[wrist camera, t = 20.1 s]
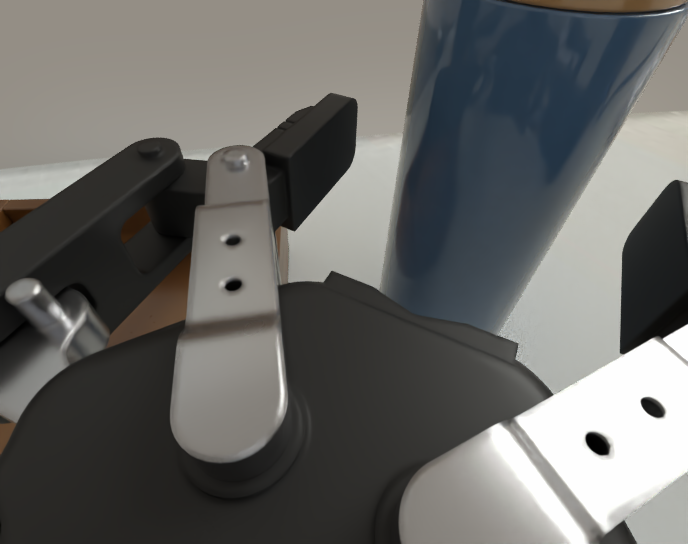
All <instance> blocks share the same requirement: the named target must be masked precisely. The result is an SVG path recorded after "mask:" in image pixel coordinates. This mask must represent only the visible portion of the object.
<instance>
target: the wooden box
mask: <svg viewBox="0 0 688 544" xmlns="http://www.w3.org/2000/svg"><path fill="white" fill-rule="evenodd" d="M48 200H49V199H28V200H0V232H1V231H3V230H4V229H6V228H7V227H9V226H10V225H12V224H13V223H15V222H16V221H18V220H19V219H21V218H22V217H24V216H25V215H27V214H28V213H30V212H31V211H33V210H34V209H36V208H37V207H39V206H40V205H42V204H43V203H45V202H46V201H48ZM150 221H151V220H150V217H149V215H148V213H147V211H146V209H145V206H144V207H142V208H141V209H140V210H139V211H138V212H136V213H135V214H134V215H133V216H132V217H130V218H129V219H128V220H127V221H126V222H125V223H124V225H123V227H122V229H121V240H122V242H123V244H125V243H126V242H127V241H128V240H129V239H130V238H132V237H133V236H134V235H135V234H136V233H137V232H138V231H140V230H141V229H142V228H143V227H144V226H145V225H147V224H148V223H149V222H150ZM275 234H276V241H277V250H278V259H279V267H280V276H281V285H282V284H286V283H288V264H289V243H288V234H287V228H284V227H282V226H280V227H279V228H278V229H277V230H276V231H275ZM191 255H192V251H191V252H190V253H189V254H188V255H187V256H186V257H185V258H184V259H183V260H182V261H181V262H180V263H179V264H178V265H177V266H176V267H175V268H174V269H173V270H172V271H171V272H170V273H169V274H168V275H167V276H166V278H165V279H164V280H163V281H162V282H161V283H160V284H159V285H158V286H157V287H156V288H155V289H154V290H153V291H152V292H151V293H150V294H149V295H148V296H147V297H146V298H145V299H144V300H143V301H142V302H141V303H140V305H139V306H138V307H137V308H136V309H135V310H134V311H133V312H132V313H131V314H130V315H129V316H128V317H127V318H126V319H125V320H124V321H123V322H122V323H121V324H120V325H119V326H118V327H117V328H116V329H115V330H114V332H113V333H112V334H111V335H110V339H109V342H108V345H107V347H106V348H109V347H111V346H114V345H117V344H119V343H122V342H125V341H128V340H130V339H133V338H136V337H138V336H141V335H144V334H147V333H149V332H152V331H155V330H158V329H160V328H163V327H166V326H168V325H171V324H174V323H177V322H179V321H182V320H185V319H186V313H187V301H188V290H189V278H190V267H191ZM15 426H16V424H14V423H5V424H0V455H1V453H2V452H3V450H4V448H5V446H6V444H7V442H8V440H9V438H10V436H11V434H12V432H13V430H14V428H15Z"/></svg>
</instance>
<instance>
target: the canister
mask: <svg viewBox="0 0 688 544" xmlns="http://www.w3.org/2000/svg"><path fill="white" fill-rule="evenodd" d="M687 18H688V0H423V5H422V12H421V18H420V26H419V32H418V38H417V45H416V52H415V58H414V65H413V72H412V78H411V84H410V92H409V98H408V104H407V111H406V118H405V124H404V131H403V137H402V144H401V151H400V157H399V164H398V171H397V177H396V184H395V190H394V197H393V204H392V210H391V217H390V224H389V230H388V237H387V243H386V250H385V257H384V263H383V270H382V277H381V283H380V290H379V291H380V292H381V293H383V294H384V295H386V296H387V297H389V298H390V299H392V300H393V301H395V302H396V303H398V304H399V305H401V306H402V307H404V308H405V309H407V310H408V311H410V312H411V313H413V314H416V315H420V316H425V317H431V318H437V319H443V320H448V321H454V322H460V323H465V324H469V325H472V326H474V327H477V328H479V329H482V330H485V331H487V332H490V333H492V334H495V335H497V336H498V334H499V332H500V331H501V329H502V327H503V326H504V324H505V322H506V321H507V319H508V317H509V316H510V314H511V312H512V311H513V309H514V307H515V306H516V304H517V302H518V301H519V299H520V297H521V296H522V294H523V292H524V291H525V289H526V287H527V285H528V284H529V282H530V280H531V279H532V277H533V275H534V274H535V272H536V270H537V269H538V267H539V265H540V264H541V262H542V260H543V259H544V257H545V255H546V254H547V252H548V250H549V249H550V247H551V245H552V244H553V242H554V240H555V239H556V237H557V235H558V234H559V232H560V230H561V229H562V227H563V225H564V224H565V222H566V220H567V219H568V217H569V215H570V214H571V212H572V210H573V209H574V207H575V205H576V204H577V202H578V200H579V199H580V197H581V195H582V193H583V192H584V190H585V188H586V187H587V185H588V183H589V182H590V180H591V178H592V177H593V175H594V173H595V172H596V170H597V168H598V167H599V165H600V163H601V162H602V160H603V158H604V157H605V155H606V153H607V152H608V150H609V148H610V147H611V145H612V143H613V142H614V140H615V138H616V137H617V135H618V133H619V132H620V130H621V128H622V127H623V125H624V123H625V122H626V120H627V118H628V117H629V115H630V113H631V111H632V110H633V108H634V106H635V105H636V103H637V102H638V100H639V98H640V96H641V95H642V93H643V91H644V90H645V88H646V86H647V85H648V83H649V81H650V80H651V78H652V76H653V75H654V73H655V71H656V70H657V68H658V66H659V65H660V63H661V61H662V59H663V58H664V56H665V54H666V53H667V51H668V50H669V48H670V46H671V45H672V43H673V41H674V40H675V38H676V36H677V35H678V33H679V31H680V30H681V27H682V26H683V24H684V23H685V21H686V19H687Z"/></svg>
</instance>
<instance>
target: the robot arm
mask: <svg viewBox="0 0 688 544" xmlns="http://www.w3.org/2000/svg"><path fill="white" fill-rule="evenodd" d="M357 108H358V107H357V101H356V99H354V98H350V97H346V96H342V95H338V94H333V93H330V94H328V95H327V96H326V97H325V98H323V99H322V100H321V101H320V102H319V103H317V104H316V105H315V106H310V107H307V108H304V109H301V110H299V111H296V112H295V113H294V114H293V115H291V116H290V117H289V118H287V119H286V122H283V123H281V124H280V125H279V126H278V128H275V129H274V130H273V131H272V132H270V133H269V134H268V135H267V136H266V137H264V138H263V139H262V140H260V141H259V142H258V143H257V144H255V145H254V146H253V147H250V146H244V145H236V146H229V147H225V148H222V149H220V150H218V151H216V152H214V153H213V154H212V155H211V156H210V157H209V159H208V161H203V160H191V159H183V156H182V153H181V150H180V147H179V145H178V143H176V142H175V141H173V140H171V139H167V138H149V139H144V140H141V141H138V142H135V143H133V144H131V145H130V146H128V147H127V148H125V149H124V150H122V151H121V152H119V153H118V154H116V155H115V156H113V157H112V158H110V159H109V160H107V161H106V162H104V163H103V164H101V165H100V166H98V167H97V168H95V169H94V170H92V171H91V172H89V173H88V174H86V175H85V176H83V177H82V178H80V179H79V180H77V181H76V182H74V183H73V184H71V185H70V186H68V187H67V188H65V189H64V190H63V191H61V192H60V193H58V194H57V195H55V196H54V197H52V198H51V199H49V200H48V201H46V202H45V203H43V204H42V205H40V206H39V207H37V208H36V209H34V210H33V211H31V212H30V213H28V214H27V215H25V216H24V217H22V218H21V219H19V220H18V221H16V222H15V223H13V224H12V225H10V226H9V227H7V228H6V229H4V230H3V231H1V232H0V424H5V423H14V424H16V426H15V428H14V430H13V432H12V434H11V436H10V438H9V440H8V442H7V444H6V446H5V448H4V450H3V452H2V453H1V455H0V544H637V543H636V541H635V539H634V537H633V535H632V533H631V532H630V530H629V528H628V526H627V524H626V522H625V521H624V519H626V518H627V517H628V516H630V515H631V514H632V513H633V512H635V511H636V510H637V509H639V508H640V507H641V506H643V505H644V504H645V503H646V502H648V501H649V500H650V499H652V498H653V497H654V496H656V495H657V494H658V493H659V492H661V491H662V490H663V489H665V488H666V487H667V486H669V485H670V484H671V483H672V482H674V481H675V480H676V479H678V478H679V477H680V476H682V475H683V474H684V473H685V472H687V471H688V183H687V182H683V181H679V180H674V181H672V182H671V183H670V184H669V185H668V186H667V187H666V188H665V189H664V190H663V191H662V193H661V194H660V195H659V197H658V198H657V199H656V200H655V202H654V203H653V204H652V206H651V207H650V208H649V209H648V211H647V212H646V213H645V214H644V216H643V217H642V218H641V220H640V221H639V222H638V223H637V225H636V226H635V227H634V229H633V230H632V231H631V233H630V234H629V236H628V238H627V240H626V242H625V245H624V248H623V252H622V287H621V330H620V353H621V354H623V356H621V357H619V358H618V359H616V360H614V361H612V362H611V363H609V364H607V365H605V366H604V367H602V368H600V369H599V370H597V371H595V372H593V373H592V374H590V375H588V376H586V377H585V378H583V379H581V380H579V381H578V382H576V383H574V384H572V385H571V386H569V387H567V388H565V389H564V390H562V391H560V392H558V393H557V394H555V395H553V393H552V392H551V391H550V390H549V389H548V387H547V386H546V385H545V384H544V383H543V382H542V381H541V380H540V379H539V378H538V377H537V376H536V375H535V374H534V373H533V372H531V371H530V370H529V369H528V368H526V367H525V366H524V365H523V364H521V363H520V362H518V361H517V360H515V358H516V353H517V349H518V343H515V342H513V341H510V340H508V339H505V338H502V337H500V336H497V335H495V334H492V333H490V332H487V331H485V330H482V329H479V328H477V327H474V326H472V325H469V324H465V323H460V322H454V321H448V320H443V319H437V318H431V317H425V316H420V315H416V314H413V313H411V312H410V311H408V310H407V309H405V308H404V307H402V306H401V305H399V304H398V303H396V302H395V301H393V300H392V299H390V298H389V297H387V296H386V295H384V294H383V293H381V292H380V291H378V290H377V289H375V288H374V287H372V286H369V285H367V284H364V283H362V282H359V281H357V280H354V279H352V278H349V277H346V276H344V275H341V274H339V273H336V272H334V271H331V273H330V274H329V275H328V277H327V278H326V280H325V281H324V283H322V282H310V281H305V282H293V283H286V284H282V285H281V276H280V267H279V259H278V250H277V241H276V234H275V231H276V230H277V229H278V228H279V227H280V226H282V227H284V228H287V229H290V230H292V231H296V230H297V228H298V227H299V226H300V225H301V224H302V223H303V221H304V220H305V219H306V218H307V217H308V216H309V214H310V213H311V212H312V211H313V210H314V209H315V207H316V206H317V205H318V204H319V203H320V202H321V200H322V199H323V198H324V197H325V196H326V195H327V193H328V192H329V191H330V190H331V189H332V188H333V186H334V185H335V184H336V183H337V182H338V181H339V179H340V178H341V177H342V176H343V175H344V174H345V172H346V171H347V170H348V169H349V167H350V166H351V164H352V161H353V158H354V154H355V147H356V128H357ZM144 206H145V209H146V211H147V213H148V215H149V217H150V220H151V221H150V222H149V223H148V224H147V225H145V226H144V227H143V228H142V229H141V230H140V231H138V232H137V233H136V234H135V235H134V236H133V237H132V238H130V239H129V240H128V241H127V242H126V243H125V244H123V242H122V240H121V229H122V227H123V225H124V223H125V222H126V221H127V220H128V219H129V218H130V217H132V216H133V215H134V214H135V213H136V212H138V211H139V210H140V209H141V208H142V207H144ZM191 251H192V255H191V267H190V278H189V290H188V301H187V313H186V319H185V320H182V321H179V322H177V323H174V324H171V325H168V326H166V327H163V328H160V329H158V330H155V331H152V332H149V333H147V334H144V335H141V336H138V337H136V338H133V339H130V340H128V341H125V342H122V343H119V344H117V345H114V346H111V347H109V348H106V347H107V345H108V342H109V339H110V335H111V334H112V333H113V332H114V330H115V329H116V328H117V327H118V326H119V325H120V324H121V323H122V322H123V321H124V320H125V319H126V318H127V317H128V316H129V315H130V314H131V313H132V312H133V311H134V310H135V309H136V308H137V307H138V306H139V305H140V303H141V302H142V301H143V300H144V299H145V298H146V297H147V296H148V295H149V294H150V293H151V292H152V291H153V290H154V289H155V288H156V287H157V286H158V285H159V284H160V283H161V282H162V281H163V280H164V279H165V278H166V276H167V275H168V274H169V273H170V272H171V271H172V270H173V269H174V268H175V267H176V266H177V265H178V264H179V263H180V262H181V261H182V260H183V259H184V258H185V257H186V256H187V255H188V254H189V253H190V252H191Z"/></svg>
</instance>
